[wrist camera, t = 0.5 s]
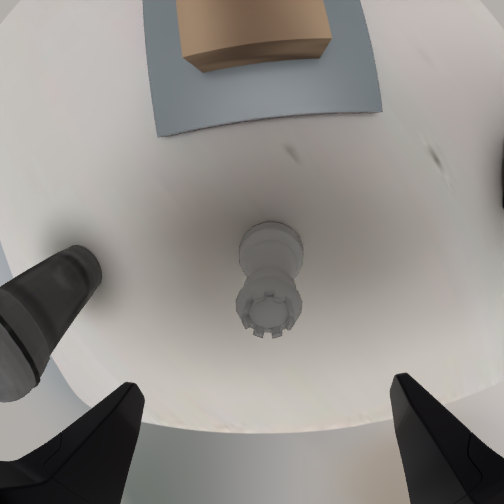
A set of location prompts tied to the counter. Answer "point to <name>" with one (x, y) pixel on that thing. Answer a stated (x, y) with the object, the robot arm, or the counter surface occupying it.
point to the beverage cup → (41, 315)
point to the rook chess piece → (270, 278)
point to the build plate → (259, 76)
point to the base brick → (251, 31)
